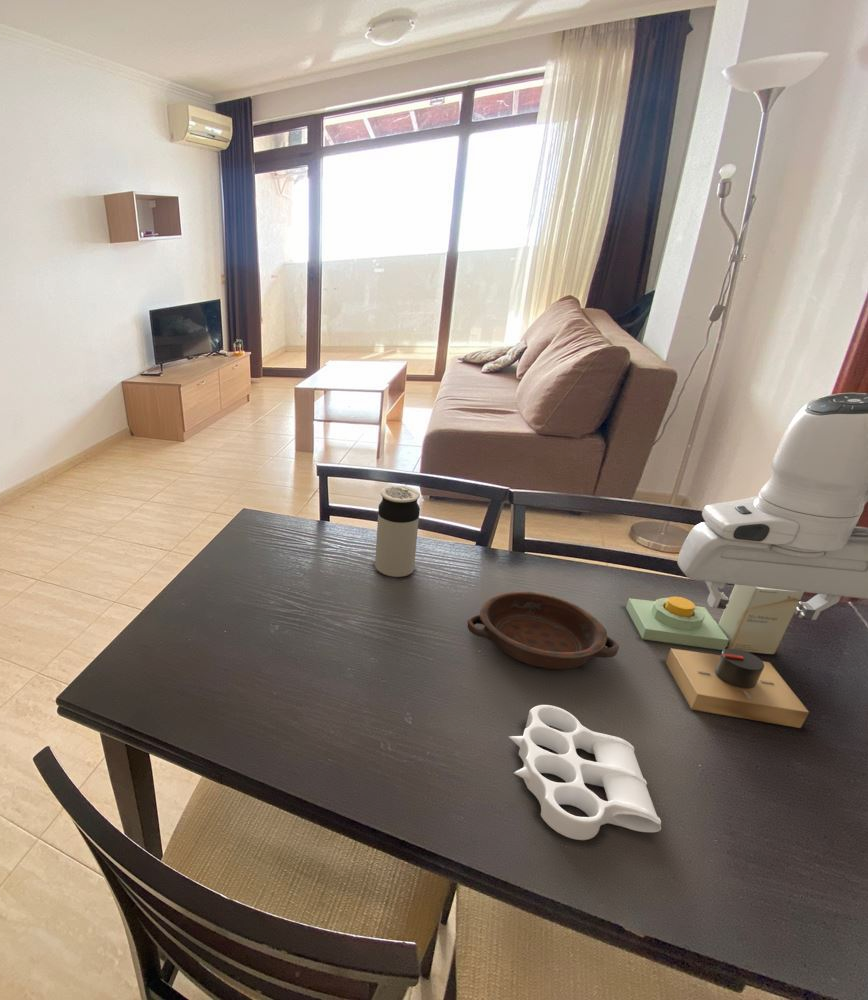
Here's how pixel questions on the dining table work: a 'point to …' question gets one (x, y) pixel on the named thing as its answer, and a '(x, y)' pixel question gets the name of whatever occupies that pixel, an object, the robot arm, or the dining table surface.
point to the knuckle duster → (583, 776)
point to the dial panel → (735, 691)
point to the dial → (739, 668)
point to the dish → (542, 630)
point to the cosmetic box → (758, 617)
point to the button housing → (675, 625)
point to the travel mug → (397, 531)
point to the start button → (680, 606)
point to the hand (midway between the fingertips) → (758, 611)
